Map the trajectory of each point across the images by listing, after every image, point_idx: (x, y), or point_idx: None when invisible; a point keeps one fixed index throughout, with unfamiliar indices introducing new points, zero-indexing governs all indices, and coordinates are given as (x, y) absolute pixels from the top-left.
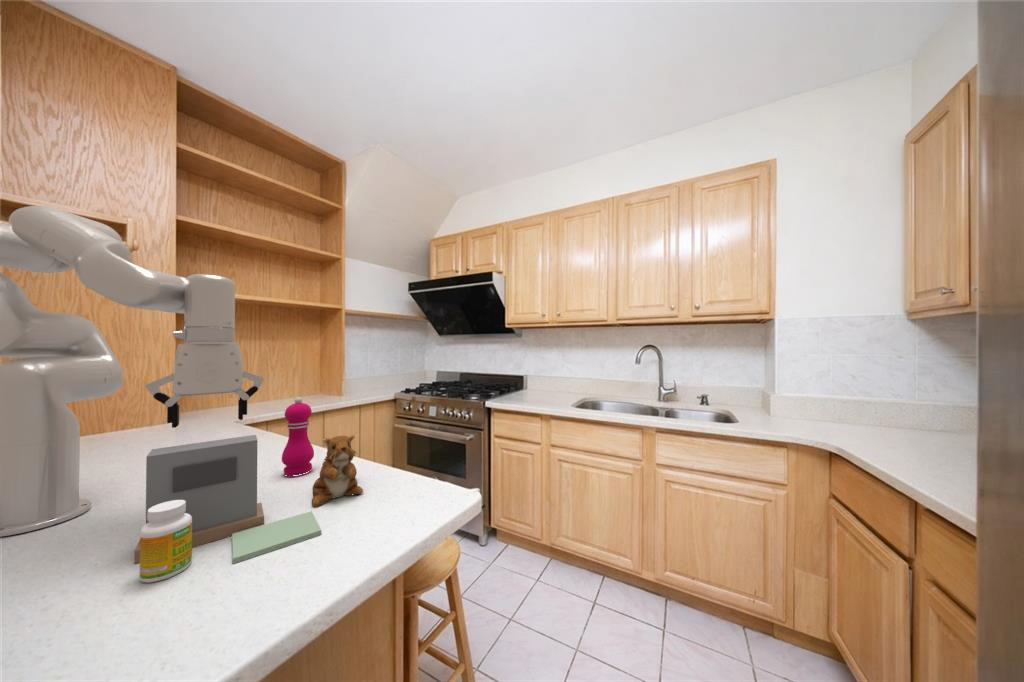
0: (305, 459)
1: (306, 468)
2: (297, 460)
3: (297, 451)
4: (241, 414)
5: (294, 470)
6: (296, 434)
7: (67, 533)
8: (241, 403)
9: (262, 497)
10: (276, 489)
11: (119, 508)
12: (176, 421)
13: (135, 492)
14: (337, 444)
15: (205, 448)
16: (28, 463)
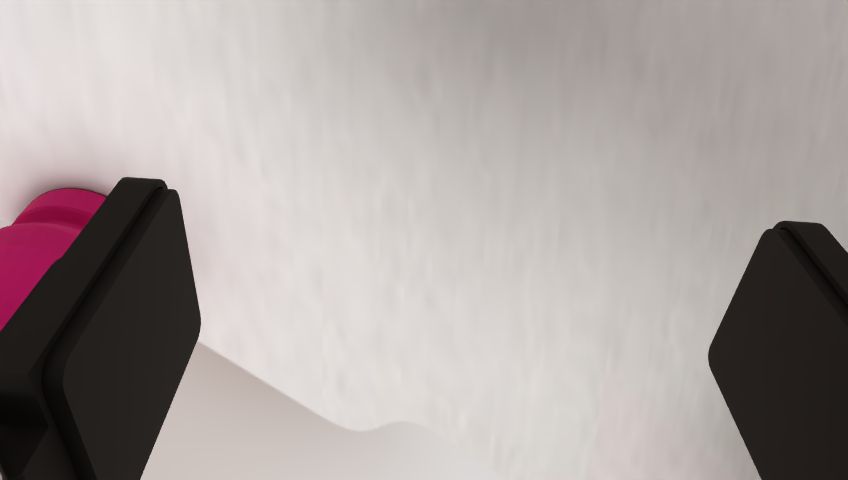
0: (3, 229)
1: (30, 209)
2: (42, 231)
3: (17, 271)
4: (116, 214)
5: (85, 211)
6: None
7: (830, 182)
8: (31, 333)
9: (229, 20)
10: (171, 84)
11: (679, 302)
12: (806, 263)
13: (621, 411)
14: None
15: None
16: None
